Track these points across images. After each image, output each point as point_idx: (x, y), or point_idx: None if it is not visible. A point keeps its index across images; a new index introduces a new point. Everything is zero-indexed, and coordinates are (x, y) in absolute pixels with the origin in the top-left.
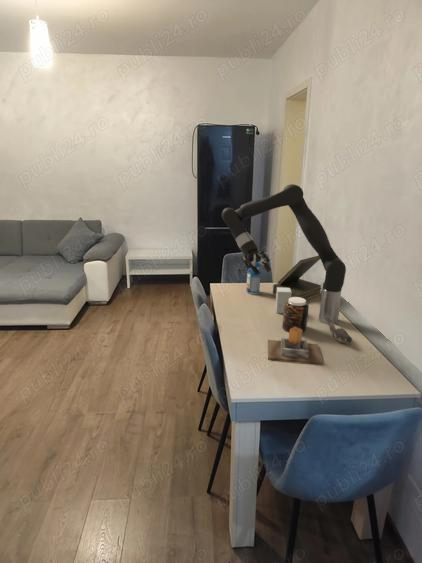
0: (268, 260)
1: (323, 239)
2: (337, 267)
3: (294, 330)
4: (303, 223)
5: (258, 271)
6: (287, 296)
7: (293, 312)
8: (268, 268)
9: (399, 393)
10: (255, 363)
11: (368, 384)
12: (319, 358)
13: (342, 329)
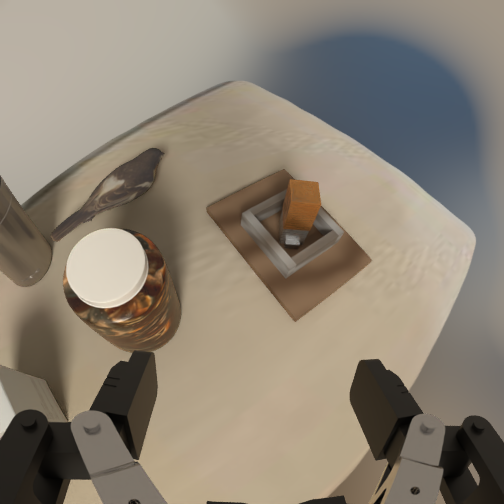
0: (38, 419)
1: None
2: None
3: (315, 192)
4: None
5: (374, 367)
6: (11, 380)
7: (167, 268)
8: (148, 376)
9: (264, 89)
10: (403, 273)
11: (277, 113)
12: (273, 179)
13: (117, 172)
